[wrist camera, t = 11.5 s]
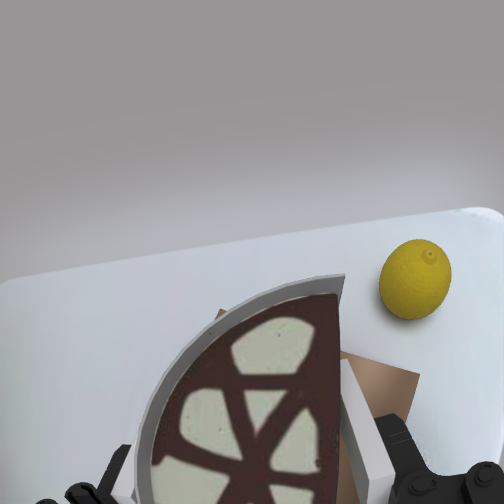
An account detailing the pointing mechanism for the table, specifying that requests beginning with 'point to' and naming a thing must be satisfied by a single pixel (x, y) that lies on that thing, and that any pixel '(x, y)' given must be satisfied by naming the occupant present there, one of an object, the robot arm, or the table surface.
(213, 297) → the table surface
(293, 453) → the food container
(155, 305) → the table surface
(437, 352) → the table surface
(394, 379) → the square wooden plinth
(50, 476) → the table surface
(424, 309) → the lemon
